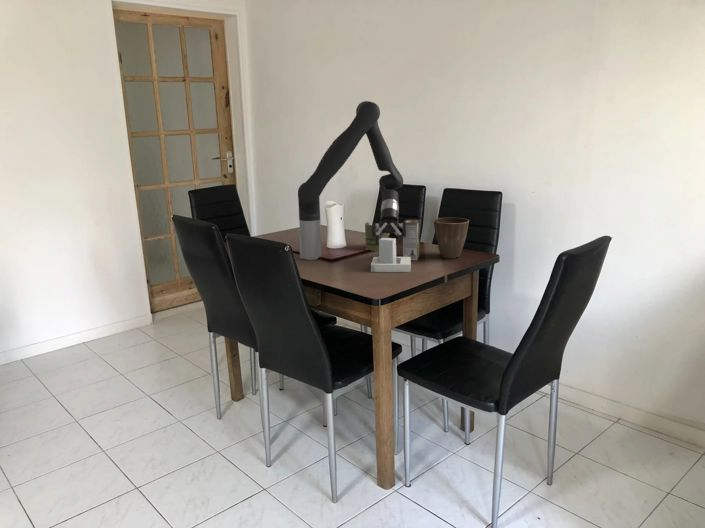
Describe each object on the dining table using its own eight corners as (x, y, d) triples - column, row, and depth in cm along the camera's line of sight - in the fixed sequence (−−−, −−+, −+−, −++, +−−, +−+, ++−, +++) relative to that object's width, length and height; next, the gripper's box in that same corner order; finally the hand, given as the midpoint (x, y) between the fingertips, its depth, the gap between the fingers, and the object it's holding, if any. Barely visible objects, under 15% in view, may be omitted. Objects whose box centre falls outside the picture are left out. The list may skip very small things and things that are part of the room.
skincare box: (396, 266, 228) (396, 238, 225) (393, 269, 224) (392, 240, 221) (382, 265, 231) (382, 237, 228) (379, 268, 227) (378, 239, 224)
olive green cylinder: (362, 222, 263) (385, 220, 265) (362, 247, 266) (385, 245, 268) (368, 226, 252) (392, 224, 255) (369, 252, 255) (392, 250, 258)
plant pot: (434, 252, 251) (434, 217, 247) (468, 252, 248) (469, 217, 244) (432, 260, 237) (432, 223, 233) (468, 261, 234) (468, 223, 230)
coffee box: (405, 255, 248) (404, 219, 244) (419, 255, 246) (419, 219, 242) (402, 260, 239) (402, 223, 235) (417, 260, 238) (417, 223, 234)
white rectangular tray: (371, 271, 222) (370, 264, 221) (373, 263, 234) (373, 256, 234) (410, 272, 220) (410, 264, 219) (410, 263, 232) (410, 256, 232)
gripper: (372, 207, 235) (370, 239, 227) (406, 206, 233) (405, 239, 225) (373, 217, 241) (371, 249, 233) (406, 217, 240) (406, 249, 231)
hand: (388, 244), depth 229 cm, fingers open, 8 cm apart
